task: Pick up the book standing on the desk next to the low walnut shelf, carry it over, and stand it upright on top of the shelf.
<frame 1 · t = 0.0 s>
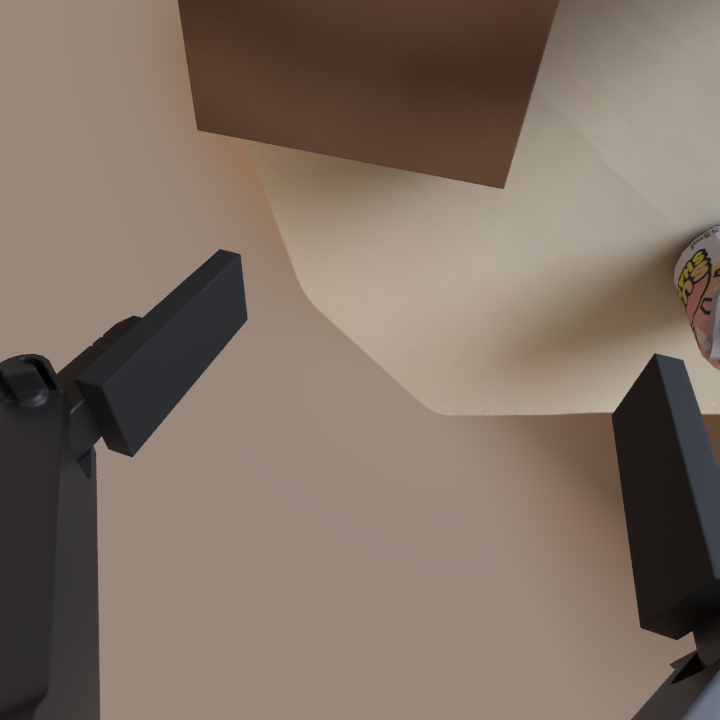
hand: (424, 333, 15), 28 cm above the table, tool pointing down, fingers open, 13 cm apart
shelf: (399, 19, 33), on the table
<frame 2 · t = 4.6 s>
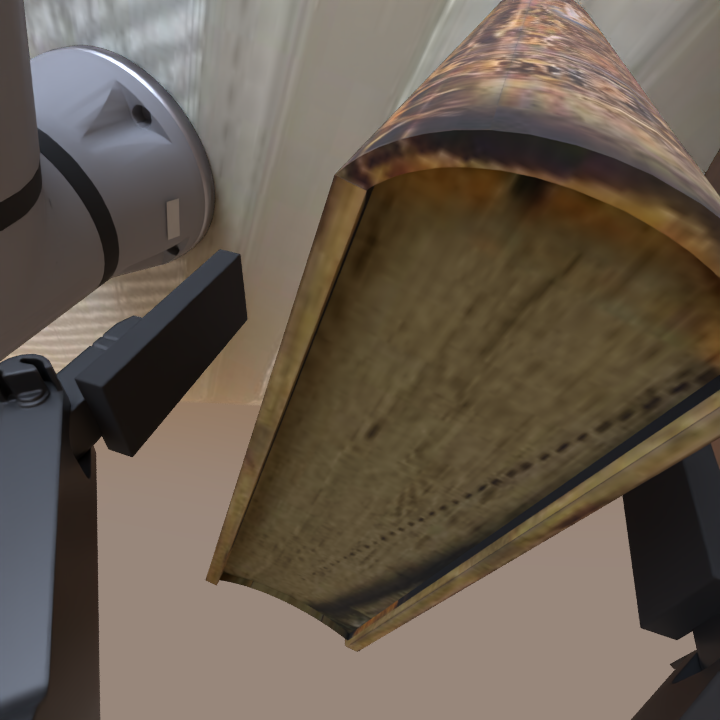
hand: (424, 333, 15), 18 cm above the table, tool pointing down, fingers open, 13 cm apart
book: (478, 156, 28), on the table
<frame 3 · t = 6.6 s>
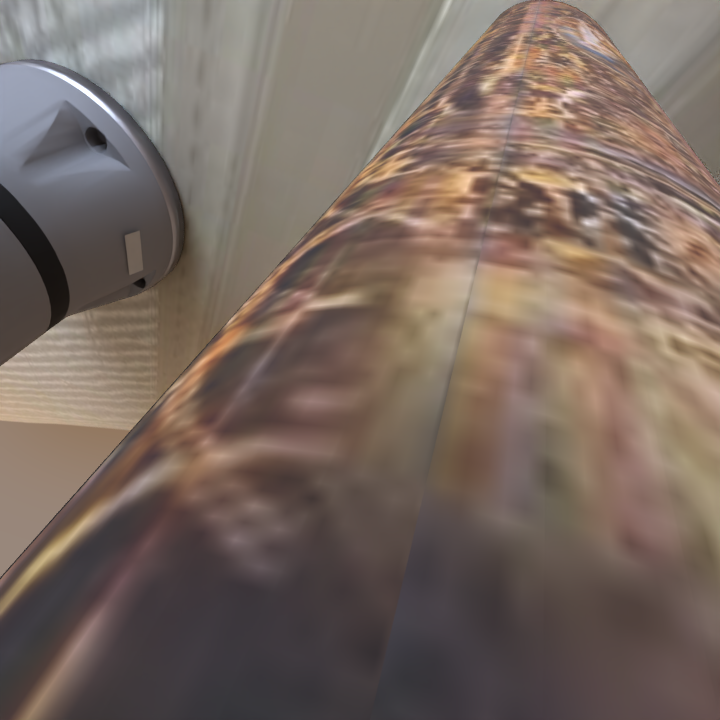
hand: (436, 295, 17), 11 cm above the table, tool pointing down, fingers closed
book: (475, 188, 24), on the table
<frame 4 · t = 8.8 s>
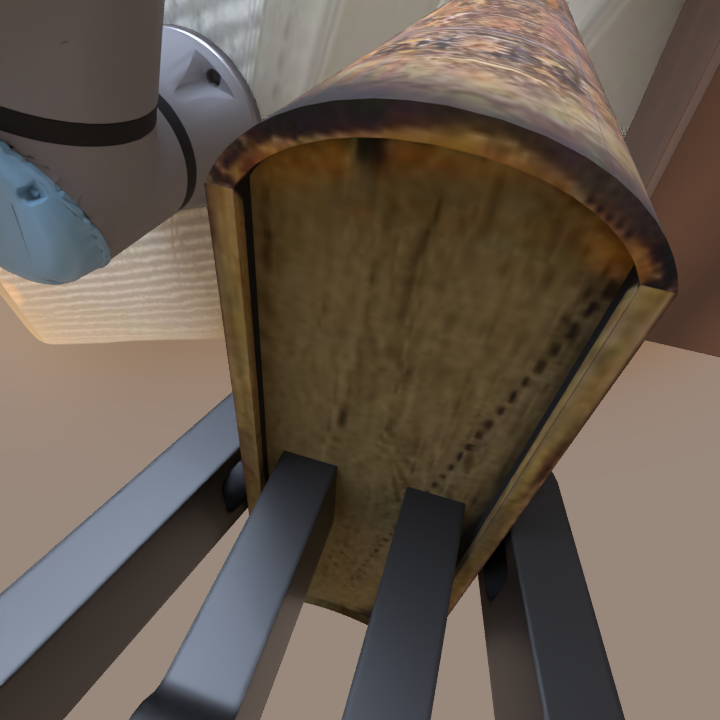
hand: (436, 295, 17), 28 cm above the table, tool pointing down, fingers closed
book: (476, 149, 28), point 12 cm above the table, touching hand
shelf: (714, 144, 34), on the table
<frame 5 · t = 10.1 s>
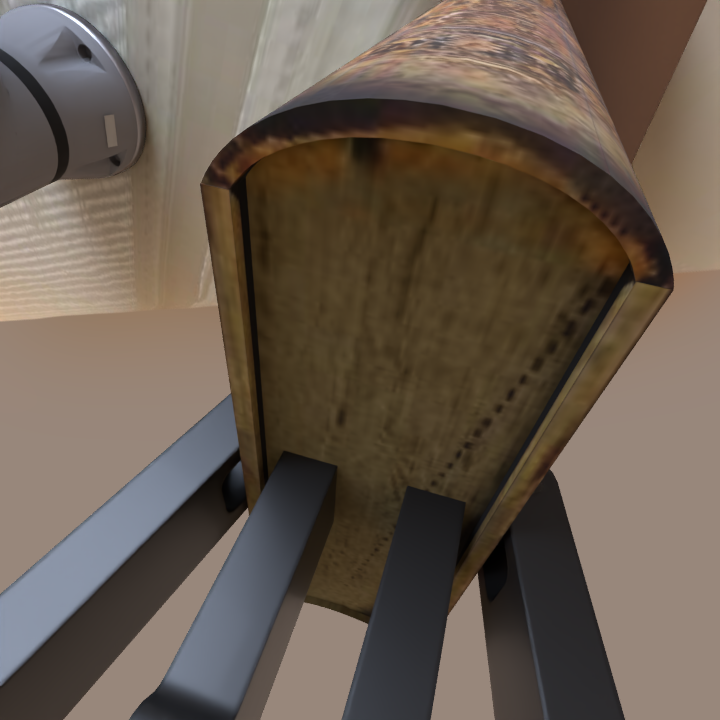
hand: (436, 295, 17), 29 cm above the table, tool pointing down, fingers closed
book: (472, 148, 28), point 13 cm above the table, touching gripper, hand
shelf: (528, 110, 37), on the table
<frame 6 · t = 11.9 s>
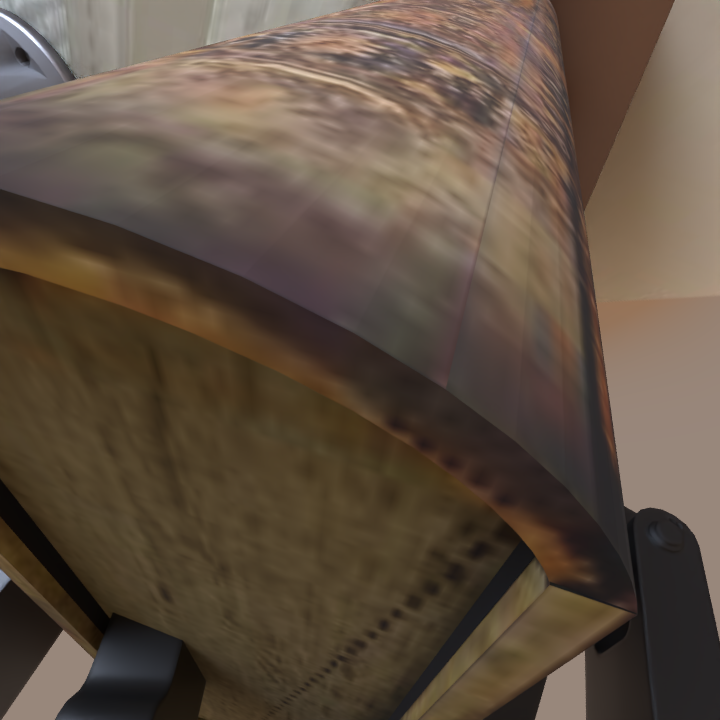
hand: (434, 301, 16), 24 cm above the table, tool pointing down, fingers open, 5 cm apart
book: (457, 168, 25), point 12 cm above the table, touching shelf
shelf: (493, 123, 34), on the table
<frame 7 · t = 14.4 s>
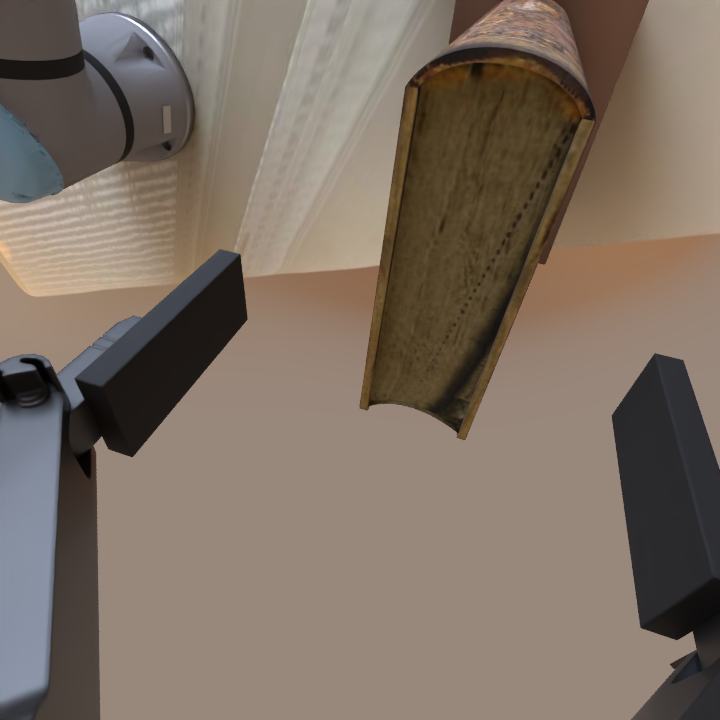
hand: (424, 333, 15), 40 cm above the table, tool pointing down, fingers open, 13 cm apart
book: (498, 127, 36), point 12 cm above the table, touching shelf
shelf: (518, 101, 44), on the table
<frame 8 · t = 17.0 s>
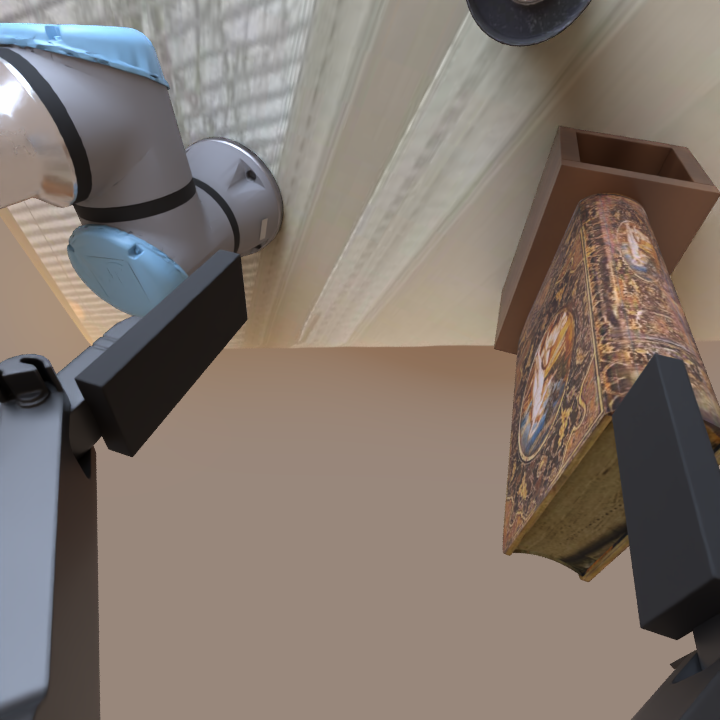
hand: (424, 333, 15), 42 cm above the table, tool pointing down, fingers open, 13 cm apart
book: (576, 278, 43), point 12 cm above the table, touching shelf
shelf: (580, 230, 52), on the table
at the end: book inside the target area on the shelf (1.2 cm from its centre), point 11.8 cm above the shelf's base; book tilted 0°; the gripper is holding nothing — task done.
